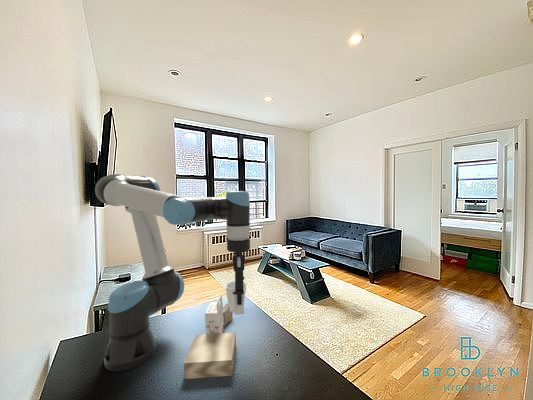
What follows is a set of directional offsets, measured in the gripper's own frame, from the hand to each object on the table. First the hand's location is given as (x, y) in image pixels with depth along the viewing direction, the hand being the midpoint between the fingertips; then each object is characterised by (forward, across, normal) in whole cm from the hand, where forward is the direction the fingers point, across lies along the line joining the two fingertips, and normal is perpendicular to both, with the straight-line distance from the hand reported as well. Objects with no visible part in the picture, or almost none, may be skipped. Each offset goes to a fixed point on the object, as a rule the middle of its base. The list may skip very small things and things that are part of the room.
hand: (239, 306), depth 76 cm
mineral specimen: (+17, +21, +8) cm, 28 cm away
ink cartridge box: (+17, +12, +9) cm, 23 cm away
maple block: (+17, 0, +9) cm, 19 cm away
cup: (+1, 0, 0) cm, 1 cm away
